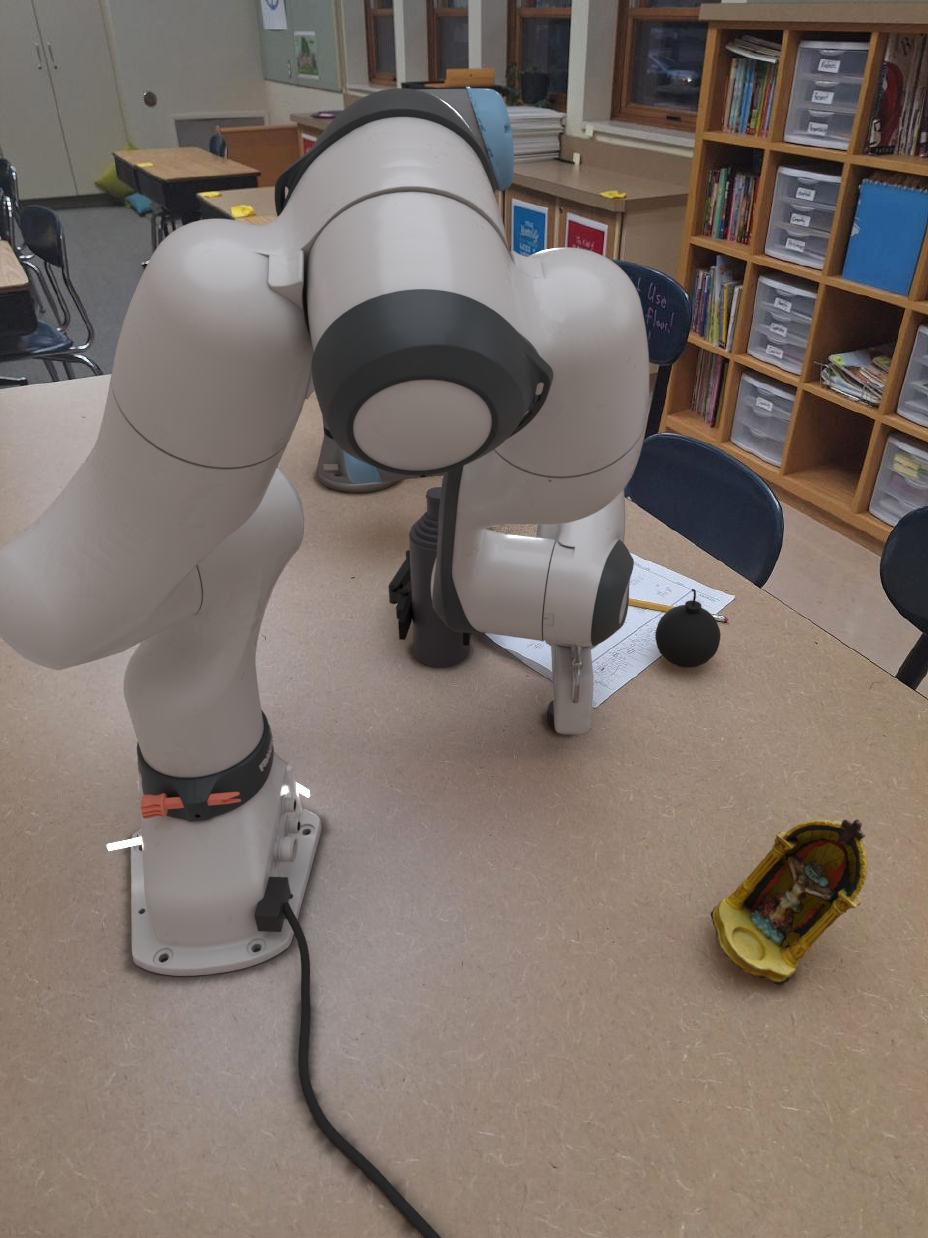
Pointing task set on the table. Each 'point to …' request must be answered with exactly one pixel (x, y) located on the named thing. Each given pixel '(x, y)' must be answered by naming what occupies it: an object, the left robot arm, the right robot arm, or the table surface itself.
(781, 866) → the shrine
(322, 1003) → the table surface
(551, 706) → the cap
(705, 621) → the bomb
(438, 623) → the bottle
